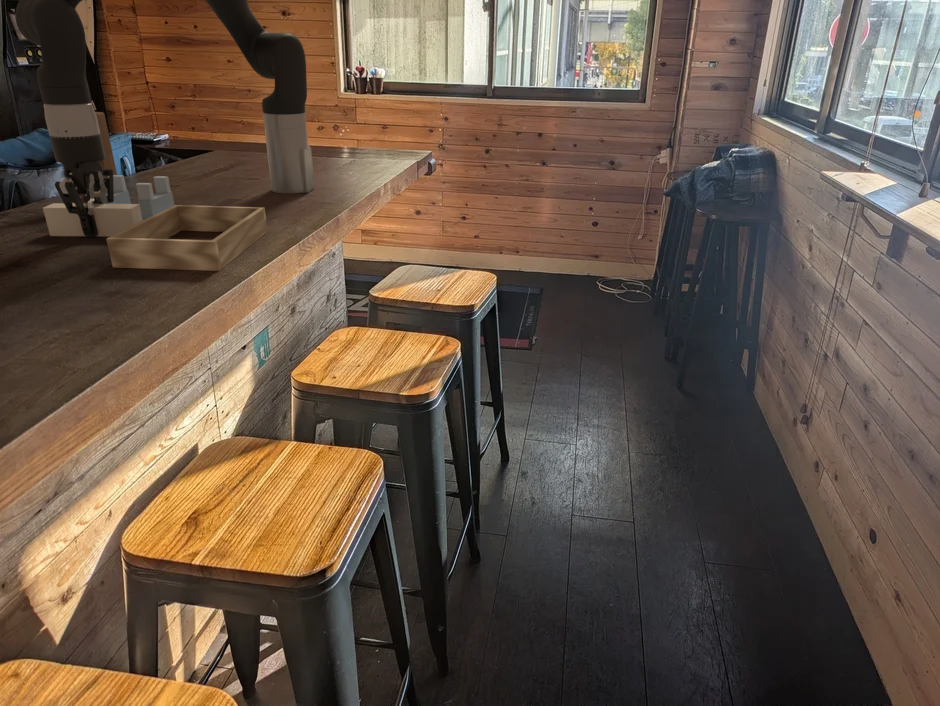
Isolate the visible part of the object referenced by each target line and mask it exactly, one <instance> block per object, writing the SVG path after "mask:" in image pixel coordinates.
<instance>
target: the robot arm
mask: <svg viewBox="0 0 940 706" xmlns="http://www.w3.org/2000/svg"><path fill="white" fill-rule="evenodd" d="M83 1H84V0H18V3H17V4H16V8H15V15H14V17H15V24H16V27H17V29H18V31H19V32H20V34H21V35H22V37H23V38H24V39H26V40H27V41H28V42H30V43H32V44H34V45H37V46H40V53H41V61H42V63H41V65H40V66H39V67H37V70H36V79H37V84H38V88H39V92H40V95H41V100H42V103H43V110H44V119H45V125H46V127H47V128H46V129H47V131H48V134H49V140H50V143H51V147H52V151H53V154H54V159H55V161H56V162H57V163H59V164H62V165H63V169H64V171H63V172H64V173H63V174H64V175H63V176H64V178H63V180H61V181H55V183H54V187H55V189H56V191H57V193H58V195H59V197H60V198H61V201H62V203H64V204H65V206H66V208H67V210H68V212H69V213H72V214H77V215H78V216H79V218H80V223H81V227H82V231H83V233H84V235H85V236H84V237H97V236H96V235H97V234H98V231H97V227H96V222H95V218H94V215H93V208H92V204H109V203H113V201H114V185H113V170H112V169H103V168H102V166H101V164H100V161H103V160H104V159H105V152H104V148H103V143H102V138H101V134H100V129H99V125H98V120H97V116H96V113H95V112H96V111H95V108H94V105H93V101H92V95H91V92H90V91H91V90H90V87H89V83H88V80H87V75H86V74H87V72H86V70H87V69H86V68H87V42H86V33H85V27H84V25H83V22H82V20H81V18H80V15H79V13H78V12H77V10H76V8H77V6H78V5H79V4H80V3H82V2H83ZM204 1H205V2H206V3H207V5H208V6H209V7H210V9H211V10H212V11H213V13H214V14H215V16H216V17H217V18H218V19H219V21H220V22H221V23H222V24H223V26H224V27H225V28H226V30H227V31H228V33H229V35H230V36H231V38H232V39H233V41H234V42H235V44H236V45H237V47H238V48H239V50H240V52H241V54H242V55H243V57H244V59H245V60H246V62H247V63H248V64H249V66H250V67H251V68H252V70H253V71H254V73H256V74H258V76H260V77H262V78H265V79H269V80H274V89H273V92H272V93H271V94H269V95H268V96H266V97H264V98H263V99H262V100H261V108H262V110H261V111H262V118H263V126H264V134H265V135H264V136H265V143H266V145H265V146H266V153H267V161H268V171H269V177H270V178H269V179H270V186H271V192H274V193H279V194H301V193H304V194H305V193H307V194H308V193H310V192H311V191H312V190H313V189H315V178H314V167H313V165H314V164H313V155H312V154H313V153H312V147H311V146H310V145H309V142H308V140H309V139H308V130H307V129H308V128H307V118H306V117H307V116H306V101H307V98H308V82H307V80H308V79H307V61H306V55H305V54H306V53H305V49H304V46H303V44H302V42H301V40H300V38H298V37H297V36H296V35H295V34H293V33H288V32H285V33H284V32H269V31H267V30H266V29H265V28H264V27H263V25H261V23H260V22H259V20H258V19H257V18H256V17H255V15H254V13H253V12H252V10H251V8H250V6H249V2H248V0H204ZM104 181H105V182H104ZM106 189H107V190H106ZM79 194H85V195H86V196H79ZM106 194H107V196H106ZM96 197H97V198H96ZM82 201H85V206H86V208H85V206H84V204H83V202H82ZM72 203H74V206H73V204H72Z"/></svg>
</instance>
